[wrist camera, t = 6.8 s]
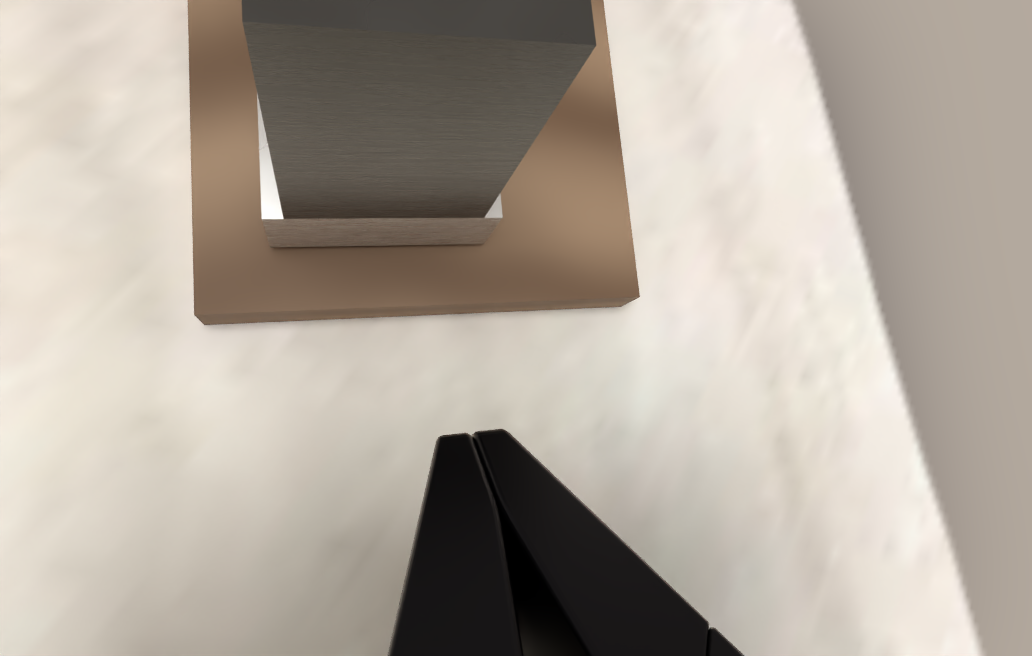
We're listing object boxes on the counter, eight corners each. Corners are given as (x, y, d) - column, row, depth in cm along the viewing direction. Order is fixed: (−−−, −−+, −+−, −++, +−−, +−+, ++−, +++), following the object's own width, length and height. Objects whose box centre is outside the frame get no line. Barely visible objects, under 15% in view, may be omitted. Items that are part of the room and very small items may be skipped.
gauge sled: (528, 243, 21) (707, 52, 11) (270, 247, 19) (201, 18, 9) (511, 74, 22) (664, -245, 12) (263, 62, 20) (192, -337, 10)
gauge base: (620, 306, 23) (749, 241, 16) (204, 324, 20) (131, 252, 13) (579, -45, 25) (676, -242, 18) (194, -85, 22) (127, -348, 15)
